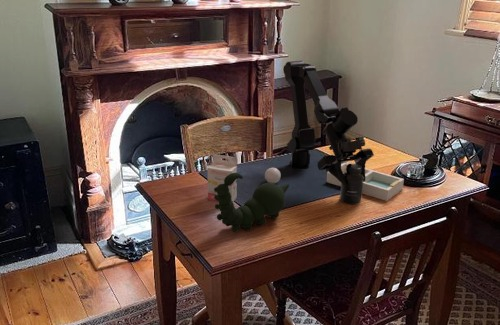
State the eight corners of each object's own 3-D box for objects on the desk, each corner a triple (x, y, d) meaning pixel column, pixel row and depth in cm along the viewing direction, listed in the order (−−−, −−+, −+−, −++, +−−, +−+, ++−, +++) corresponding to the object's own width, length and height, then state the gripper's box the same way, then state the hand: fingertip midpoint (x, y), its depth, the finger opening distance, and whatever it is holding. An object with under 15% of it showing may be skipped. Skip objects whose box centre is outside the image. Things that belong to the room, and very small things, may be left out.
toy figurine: (231, 247, 139) (300, 214, 152) (225, 186, 131) (298, 157, 144) (212, 233, 146) (280, 203, 159) (206, 174, 138) (277, 147, 151)
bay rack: (326, 182, 176) (327, 171, 175) (343, 171, 185) (344, 161, 183) (387, 201, 162) (388, 189, 161) (402, 189, 171) (404, 178, 169)
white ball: (275, 178, 179) (276, 164, 177) (283, 184, 174) (283, 169, 172) (256, 182, 176) (256, 167, 174) (263, 188, 171) (264, 173, 169)
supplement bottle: (348, 206, 159) (351, 171, 154) (335, 197, 164) (338, 164, 160) (365, 202, 162) (369, 168, 157) (352, 193, 167) (355, 160, 163)
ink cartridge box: (207, 200, 162) (206, 158, 156) (213, 194, 166) (212, 153, 161) (231, 204, 159) (231, 162, 154) (237, 198, 164) (237, 156, 158)
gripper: (324, 132, 154) (342, 178, 149) (373, 125, 161) (392, 168, 156) (309, 148, 163) (326, 191, 158) (356, 140, 171) (373, 181, 166)
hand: (355, 183), depth 159 cm, fingers closed on supplement bottle, 7 cm apart
